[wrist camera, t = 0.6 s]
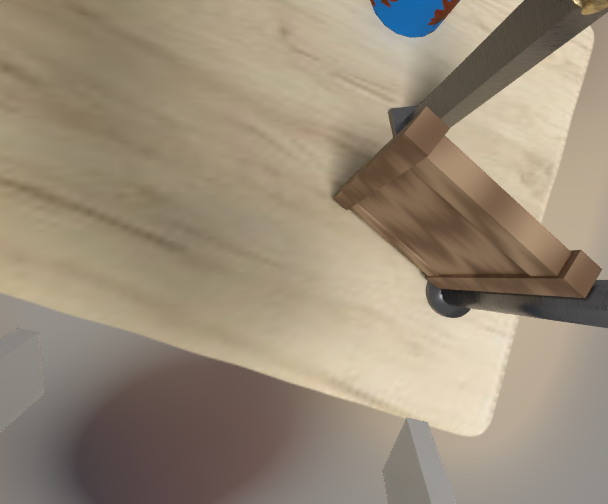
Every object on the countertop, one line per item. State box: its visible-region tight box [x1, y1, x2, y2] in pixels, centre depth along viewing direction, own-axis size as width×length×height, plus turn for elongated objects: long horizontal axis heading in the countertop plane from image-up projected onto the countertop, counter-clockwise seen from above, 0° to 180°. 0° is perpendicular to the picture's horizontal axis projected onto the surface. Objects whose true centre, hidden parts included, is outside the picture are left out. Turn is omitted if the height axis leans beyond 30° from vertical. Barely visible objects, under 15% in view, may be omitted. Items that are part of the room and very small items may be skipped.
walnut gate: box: [333, 106, 602, 298], centre depth 28 cm, size 16×2×16 cm, turn 51°
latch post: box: [388, 0, 608, 138], centre depth 28 cm, size 6×6×22 cm
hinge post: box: [426, 280, 608, 328], centre depth 27 cm, size 6×6×22 cm
